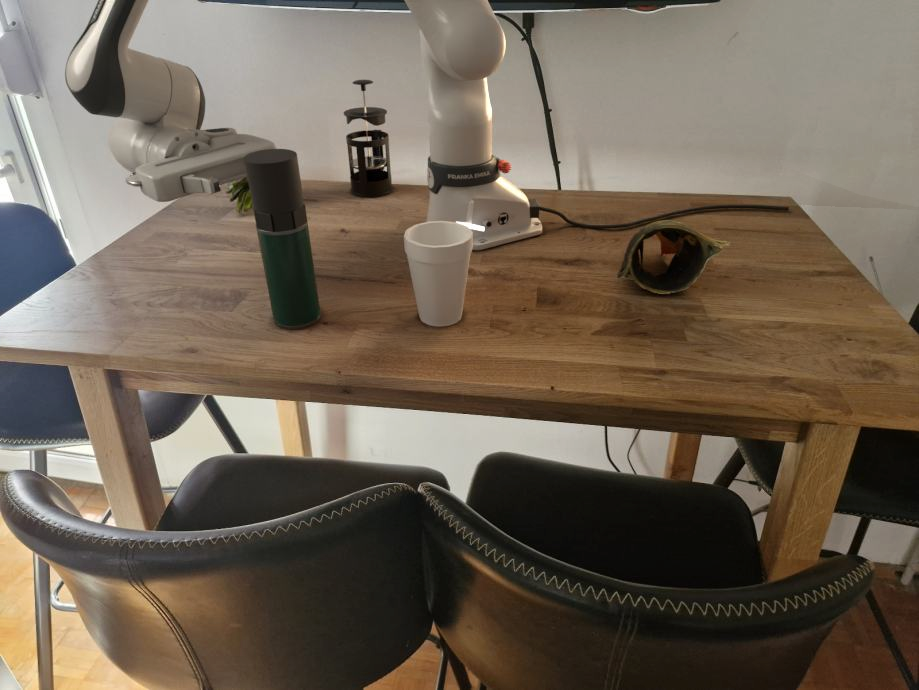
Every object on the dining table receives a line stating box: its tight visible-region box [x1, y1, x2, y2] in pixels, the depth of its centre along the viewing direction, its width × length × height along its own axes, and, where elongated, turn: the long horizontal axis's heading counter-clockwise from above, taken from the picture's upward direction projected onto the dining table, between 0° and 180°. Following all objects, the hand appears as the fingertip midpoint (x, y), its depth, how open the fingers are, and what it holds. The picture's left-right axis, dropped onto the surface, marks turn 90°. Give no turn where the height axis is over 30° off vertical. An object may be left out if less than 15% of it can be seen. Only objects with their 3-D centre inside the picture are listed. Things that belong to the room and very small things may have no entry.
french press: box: [343, 79, 394, 199], centre depth 138 cm, size 12×9×23 cm
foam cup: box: [403, 221, 473, 328], centre depth 92 cm, size 10×9×13 cm
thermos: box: [255, 220, 322, 331], centre depth 91 cm, size 7×7×17 cm
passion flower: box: [225, 177, 253, 216], centre depth 134 cm, size 11×11×12 cm
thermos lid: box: [244, 148, 308, 232], centre depth 85 cm, size 7×7×9 cm
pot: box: [616, 219, 734, 295], centre depth 104 cm, size 17×11×18 cm
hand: (245, 177), depth 88 cm, fingers open, 8 cm apart
